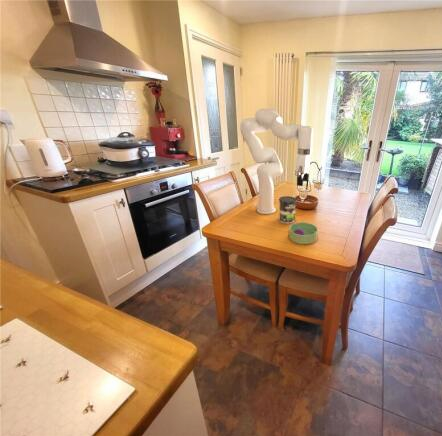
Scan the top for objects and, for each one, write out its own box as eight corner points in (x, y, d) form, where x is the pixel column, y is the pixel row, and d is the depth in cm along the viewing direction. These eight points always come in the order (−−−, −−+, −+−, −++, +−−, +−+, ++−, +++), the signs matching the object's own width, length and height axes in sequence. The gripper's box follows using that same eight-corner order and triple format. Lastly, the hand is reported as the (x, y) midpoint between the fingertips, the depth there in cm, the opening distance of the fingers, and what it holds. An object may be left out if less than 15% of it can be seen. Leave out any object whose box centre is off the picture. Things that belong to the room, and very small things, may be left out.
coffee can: (298, 221, 145) (299, 200, 139) (283, 224, 140) (283, 203, 134) (290, 215, 153) (291, 195, 147) (276, 218, 149) (276, 197, 143)
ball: (299, 240, 127) (292, 238, 124) (299, 231, 129) (292, 229, 125) (305, 238, 124) (299, 236, 120) (305, 229, 125) (298, 227, 122)
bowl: (284, 241, 123) (284, 232, 121) (294, 228, 136) (294, 220, 134) (312, 247, 119) (313, 238, 116) (320, 234, 132) (320, 225, 129)
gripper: (302, 148, 130) (300, 178, 138) (291, 153, 116) (290, 186, 123) (315, 150, 128) (313, 180, 135) (306, 154, 113) (304, 188, 121)
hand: (302, 183), depth 129 cm, fingers open, 9 cm apart
